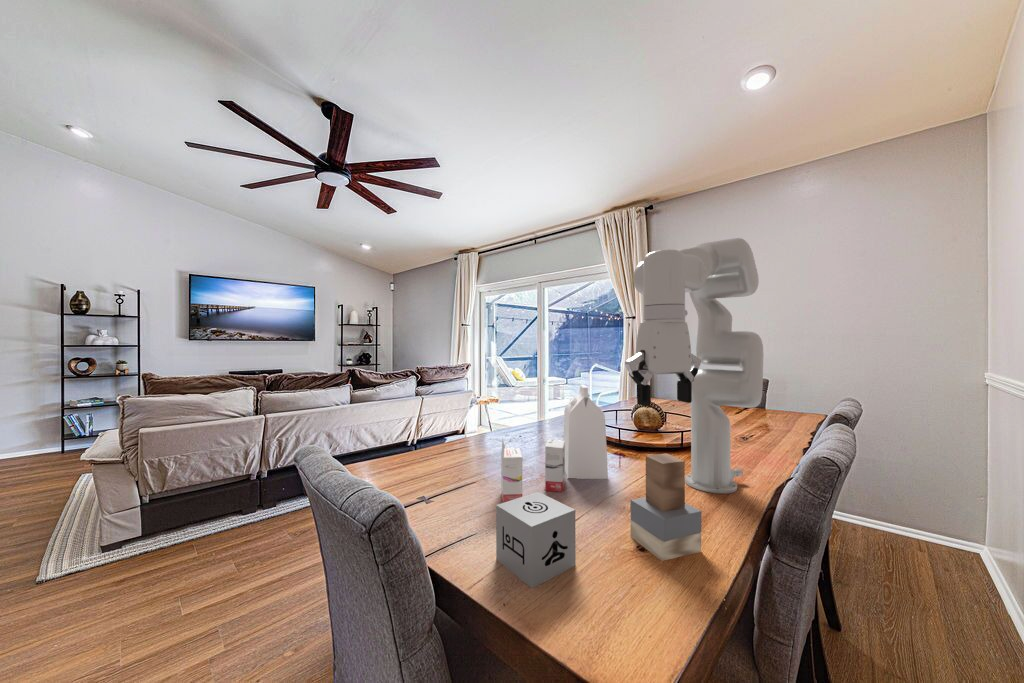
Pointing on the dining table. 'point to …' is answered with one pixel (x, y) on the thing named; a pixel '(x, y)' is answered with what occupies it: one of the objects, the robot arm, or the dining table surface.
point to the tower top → (666, 520)
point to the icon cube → (535, 537)
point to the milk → (585, 438)
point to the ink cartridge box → (511, 473)
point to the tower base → (666, 543)
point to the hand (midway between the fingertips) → (664, 403)
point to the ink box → (554, 465)
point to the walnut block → (665, 482)
